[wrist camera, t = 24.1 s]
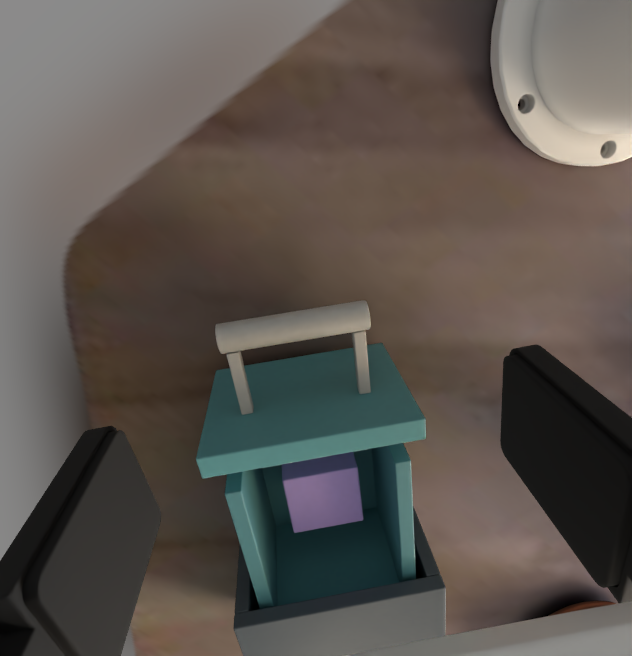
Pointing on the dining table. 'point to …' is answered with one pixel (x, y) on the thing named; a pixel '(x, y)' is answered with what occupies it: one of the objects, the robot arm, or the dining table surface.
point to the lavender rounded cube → (322, 492)
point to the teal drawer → (313, 452)
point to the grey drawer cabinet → (345, 614)
